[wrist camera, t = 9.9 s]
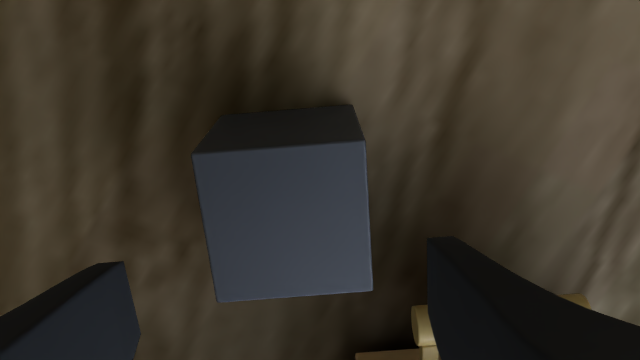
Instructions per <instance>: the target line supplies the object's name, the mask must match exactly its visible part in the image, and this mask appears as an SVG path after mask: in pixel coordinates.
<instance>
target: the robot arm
mask: <svg viewBox="0 0 640 360" xmlns="http://www.w3.org/2000/svg"><path fill="white" fill-rule="evenodd" d="M427 295H428V316H429V320H430V324H431V328H432V332H433V335H434V339H435V343H436V346H437V350H438V352H439V355H440V357H441V360H640V326H637V325H634V324H631V323H628V322H625V321H622V320H619V319H616V318H613V317H610V316H607V315H604V314H601V313H599V312H596V311H593V310H591V309H588V308H585V307H583V306H581V305H578V304H576V303H574V302H571V301H569V300H567V299H564V298H562V297H560V296H557V295H555V294H553V293H551V292H549V291H547V290H545V289H543V288H541V287H539V286H537V285H535V284H533V283H531V282H530V281H528V280H526V279H524V278H522V277H520V276H518V275H517V274H515V273H513V272H511V271H510V270H508V269H506V268H505V267H503V266H501V265H500V264H498V263H496V262H495V261H493V260H491V259H490V258H488V257H487V256H485V255H484V254H482V253H480V252H479V251H477V250H476V249H474V248H473V247H471V246H469V245H468V244H466V243H465V242H463V241H461V240H460V239H458V238H456V237H454V236H446V237H433V238H427ZM140 335H141V332H140V328H139V324H138V319H137V315H136V311H135V307H134V303H133V299H132V295H131V290H130V286H129V282H128V278H127V274H126V270H125V266H124V261H121V262H108V263H98V264H95V265H93V266H90V267H88V268H86V269H84V270H82V271H80V272H78V273H77V274H75V275H73V276H71V277H69V278H68V279H66V280H64V281H62V282H61V283H59V284H57V285H55V286H54V287H52V288H50V289H48V290H47V291H45V292H43V293H42V294H40V295H38V296H36V297H35V298H33V299H31V300H29V301H28V302H26V303H24V304H23V305H21V306H19V307H17V308H15V309H13V310H12V311H10V312H8V313H6V314H4V315H2V316H1V317H0V360H133V358H134V355H135V352H136V348H137V345H138V342H139V338H140Z"/></svg>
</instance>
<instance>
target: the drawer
mask: <svg viewBox="0 0 640 360" xmlns="http://www.w3.org/2000/svg"><path fill="white" fill-rule="evenodd" d="M557 296H560V297H562V298H564V299H567V300H569V301H571V302H574V303H576V304H578V305H581V306H583V307H585V308H588V309H591V307H590V304H589V302H588V300H587V299H586V297H585V296H584V295H582V294H579V293H576V294H563V295H557ZM411 321H412V330H413V336H414V340H415V343H416V345H417V346H419V348H418V349H405V350H391V351H377V352H363V353H356V354H355V360H441V357H440V355H439V352H438V350H437V346H436V343H435V339H434V335H433V332H432V328H431V324H430V320H429V316H428V305H415V306H412V309H411Z"/></svg>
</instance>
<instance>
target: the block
mask: <svg viewBox="0 0 640 360" xmlns="http://www.w3.org/2000/svg"><path fill="white" fill-rule="evenodd" d="M191 158H192V164H193V170H194V176H195V181H196V187H197V193H198V198H199V204H200V210H201V216H202V221H203V227H204V233H205V238H206V244H207V250H208V255H209V261H210V267H211V273H212V278H213V284H214V290H215V295H216V301H217V302H233V301H246V300H259V299H273V298H286V297H299V296H313V295H326V294H339V293H353V292H366V291H372V290H373V275H372V255H371V236H370V217H369V197H368V178H367V159H366V141H365V138H364V135H363V132H362V130H361V127H360V124H359V121H358V118H357V116H356V113H355V110H354V107H353V105H341V106H329V107H316V108H304V109H292V110H280V111H268V112H255V113H243V114H231V115H222V116H221V117H220V118H219V119H218V120H217V122H216V123H215V124H214V125H213V127H212V128H211V129H210V130H209V132H208V133H207V134H206V135H205V137H204V138H203V139H202V141H201V142H200V143H199V144H198V146H197V147H196V148H195V149H194V151H193V152H192V153H191Z"/></svg>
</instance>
